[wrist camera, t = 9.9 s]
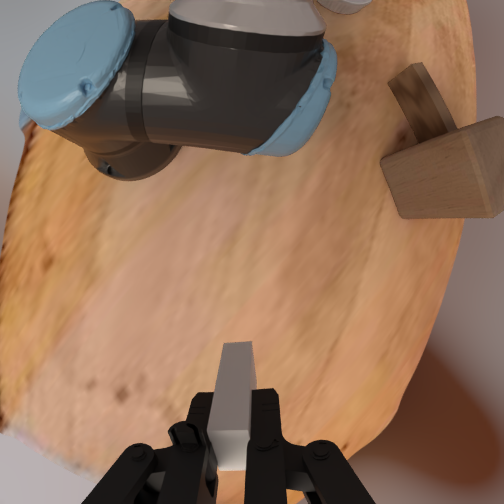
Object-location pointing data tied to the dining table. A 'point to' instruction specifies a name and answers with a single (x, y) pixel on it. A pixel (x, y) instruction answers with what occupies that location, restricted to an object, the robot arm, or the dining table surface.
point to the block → (450, 174)
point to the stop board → (422, 103)
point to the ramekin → (344, 5)
